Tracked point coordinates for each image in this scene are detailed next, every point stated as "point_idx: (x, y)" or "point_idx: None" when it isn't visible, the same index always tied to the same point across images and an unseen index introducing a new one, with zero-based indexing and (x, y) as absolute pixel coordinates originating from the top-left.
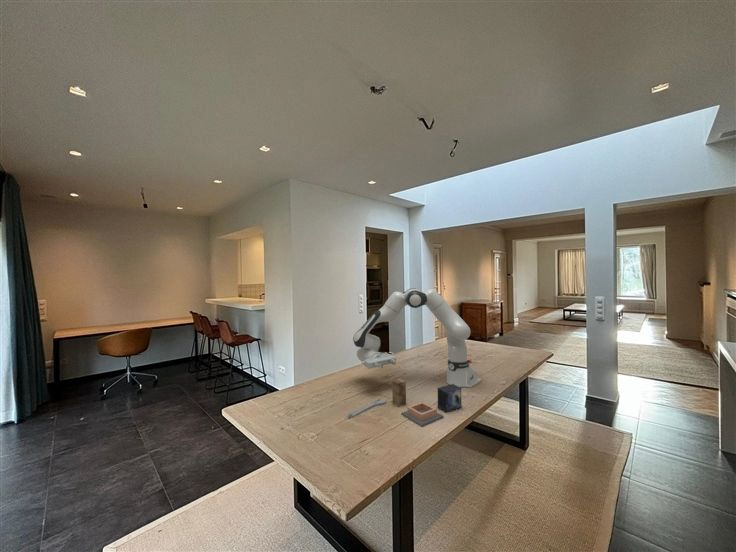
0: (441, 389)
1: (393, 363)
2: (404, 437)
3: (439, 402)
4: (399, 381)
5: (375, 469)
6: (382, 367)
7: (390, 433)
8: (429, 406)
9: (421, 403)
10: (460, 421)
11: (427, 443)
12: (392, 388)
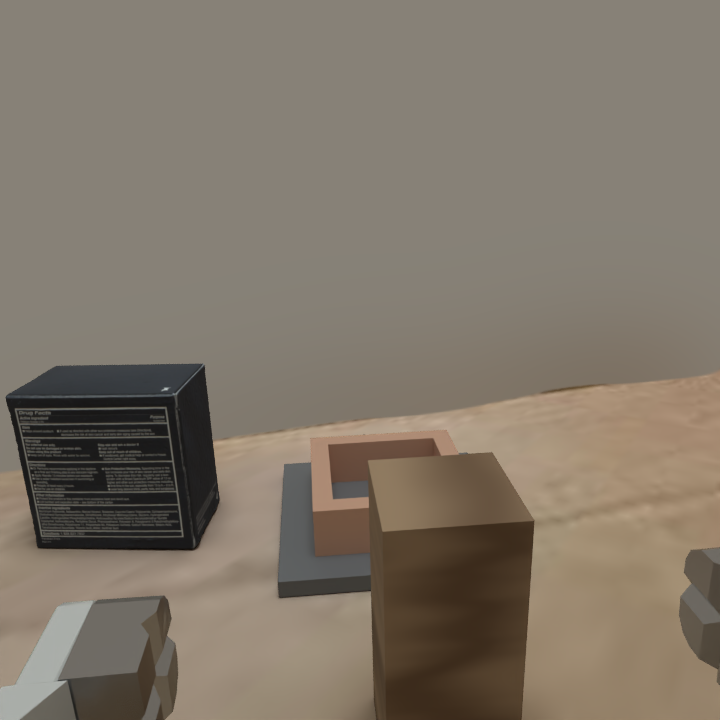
0: (186, 378)
1: (158, 668)
2: (601, 445)
3: (198, 487)
4: (442, 478)
5: None
6: (689, 631)
7: (674, 478)
8: (325, 462)
9: (340, 499)
10: (243, 441)
11: (513, 408)
12: (526, 619)
